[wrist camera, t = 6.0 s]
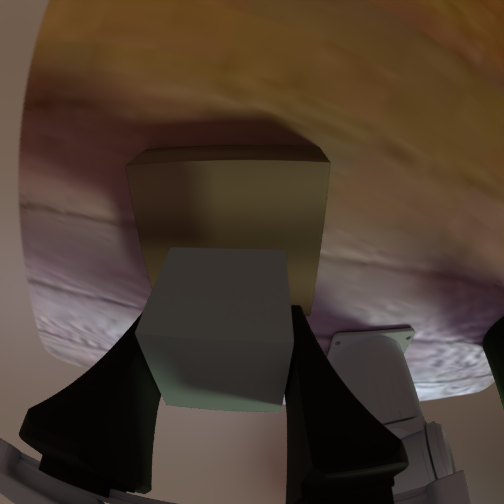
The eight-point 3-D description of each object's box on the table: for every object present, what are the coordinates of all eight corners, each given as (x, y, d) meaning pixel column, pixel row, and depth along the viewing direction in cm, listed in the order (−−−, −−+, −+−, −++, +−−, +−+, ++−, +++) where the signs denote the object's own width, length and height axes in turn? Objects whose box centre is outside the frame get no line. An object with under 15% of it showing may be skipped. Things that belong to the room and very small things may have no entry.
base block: (305, 285, 22) (309, 315, 19) (168, 283, 22) (158, 311, 19) (319, 147, 16) (330, 162, 13) (145, 149, 16) (125, 165, 14)
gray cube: (277, 328, 14) (280, 412, 10) (185, 324, 14) (166, 404, 10) (285, 249, 12) (294, 341, 8) (170, 247, 12) (134, 332, 8)
